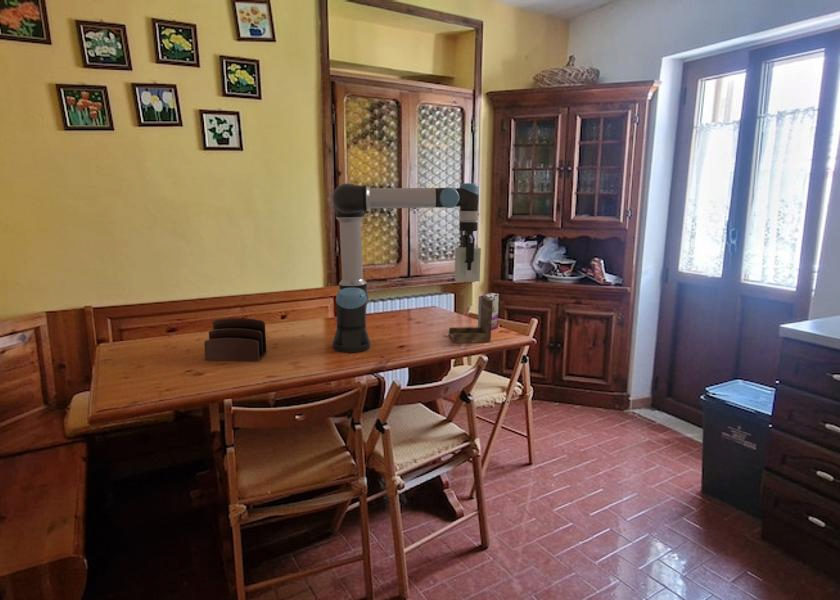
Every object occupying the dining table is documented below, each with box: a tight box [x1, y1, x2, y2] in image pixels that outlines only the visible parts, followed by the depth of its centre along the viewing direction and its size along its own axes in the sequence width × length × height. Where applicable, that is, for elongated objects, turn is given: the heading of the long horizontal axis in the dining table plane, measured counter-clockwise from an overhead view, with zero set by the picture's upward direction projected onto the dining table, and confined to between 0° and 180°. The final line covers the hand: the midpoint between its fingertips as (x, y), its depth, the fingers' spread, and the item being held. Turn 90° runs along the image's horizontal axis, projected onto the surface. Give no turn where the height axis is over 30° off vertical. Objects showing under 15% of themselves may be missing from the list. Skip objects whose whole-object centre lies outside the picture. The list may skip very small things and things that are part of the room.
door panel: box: [454, 246, 482, 283], centre depth 214 cm, size 10×4×14 cm, turn 97°
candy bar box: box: [477, 292, 500, 331], centre depth 236 cm, size 11×5×16 cm, turn 143°
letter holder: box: [203, 317, 268, 362], centre depth 189 cm, size 10×20×14 cm, turn 91°
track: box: [448, 295, 493, 343], centre depth 220 cm, size 16×11×18 cm
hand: (467, 276), depth 215 cm, fingers closed on door panel, 4 cm apart
